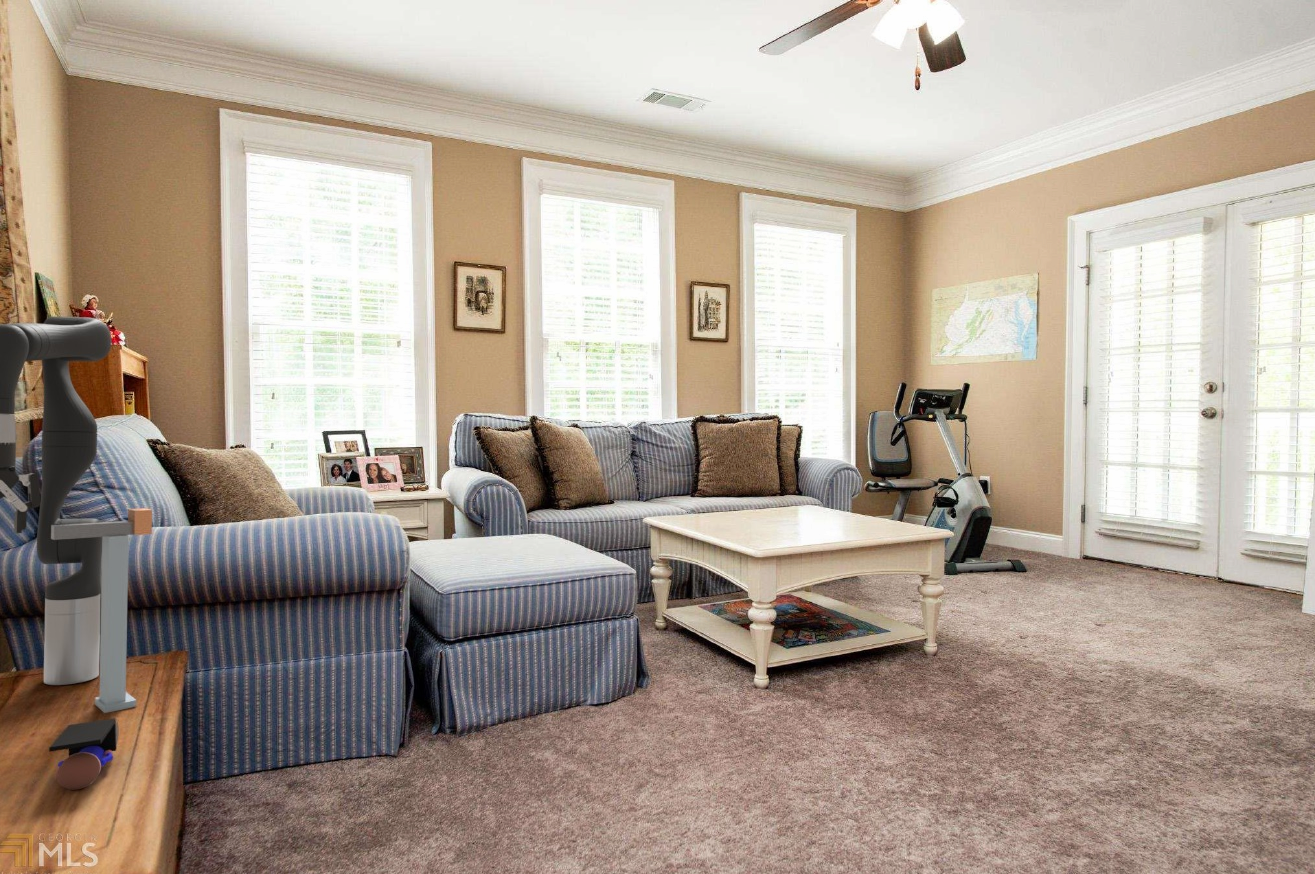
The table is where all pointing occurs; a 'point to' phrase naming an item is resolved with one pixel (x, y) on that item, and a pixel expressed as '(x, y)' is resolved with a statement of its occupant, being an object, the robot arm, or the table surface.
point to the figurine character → (85, 751)
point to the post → (114, 626)
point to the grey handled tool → (107, 527)
